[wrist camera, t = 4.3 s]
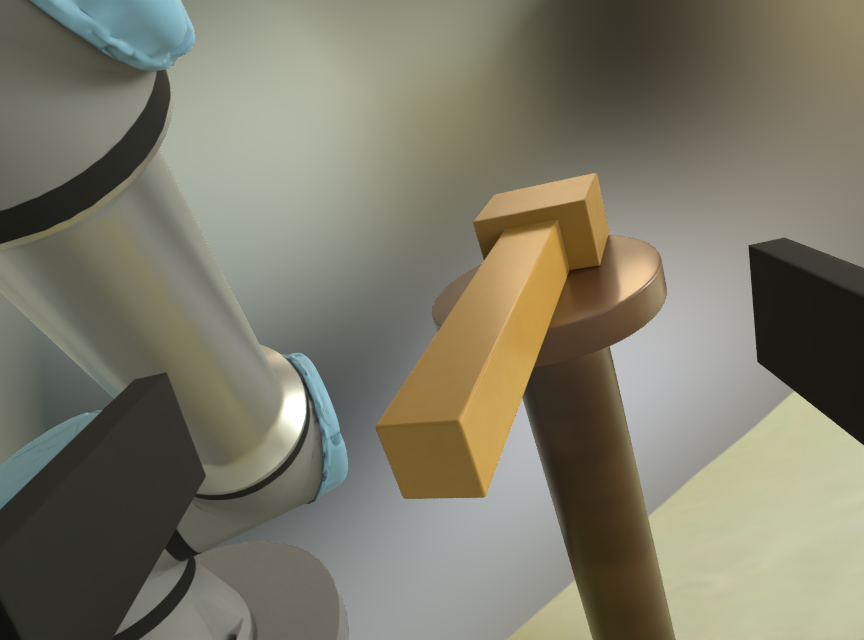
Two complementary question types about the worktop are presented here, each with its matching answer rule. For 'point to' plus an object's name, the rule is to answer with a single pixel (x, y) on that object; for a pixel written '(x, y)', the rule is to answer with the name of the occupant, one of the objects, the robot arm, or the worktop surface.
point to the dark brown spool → (596, 437)
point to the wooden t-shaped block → (491, 339)
